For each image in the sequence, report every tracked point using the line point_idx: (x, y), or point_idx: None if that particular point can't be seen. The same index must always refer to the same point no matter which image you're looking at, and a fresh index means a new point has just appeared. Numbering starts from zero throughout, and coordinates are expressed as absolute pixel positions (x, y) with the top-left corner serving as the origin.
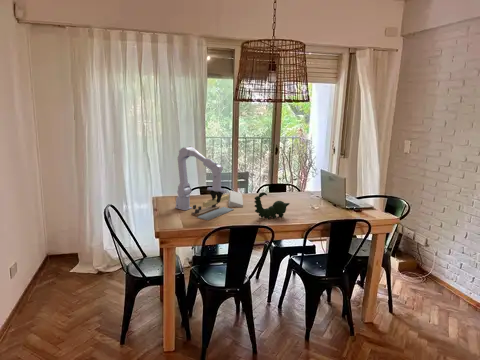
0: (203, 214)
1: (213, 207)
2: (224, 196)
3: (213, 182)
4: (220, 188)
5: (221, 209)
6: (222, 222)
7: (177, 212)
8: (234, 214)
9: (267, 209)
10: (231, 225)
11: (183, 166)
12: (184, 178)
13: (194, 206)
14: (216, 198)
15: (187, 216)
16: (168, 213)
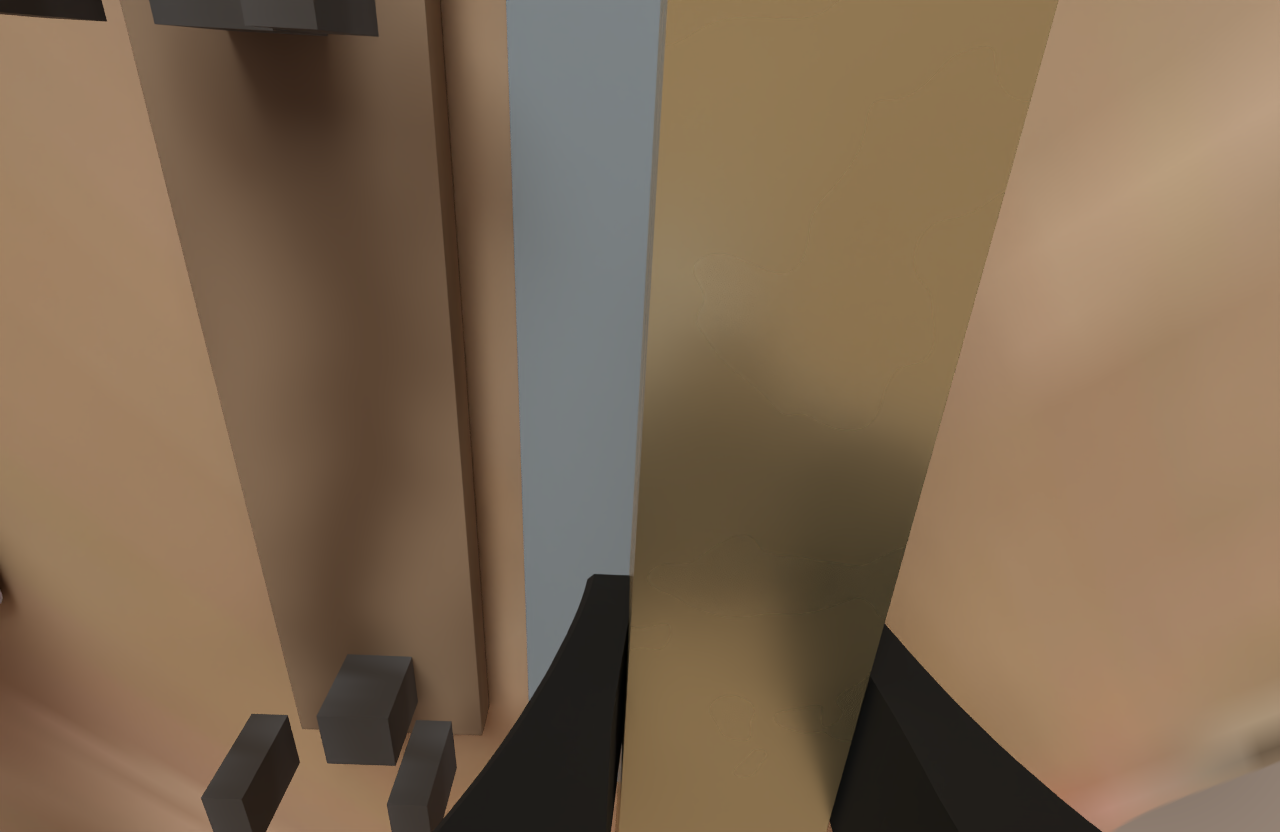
0: (528, 642)
1: (335, 86)
2: (978, 151)
3: None
4: None
5: (636, 38)
6: (1048, 733)
7: (39, 730)
8: (1164, 181)
9: None
10: (1243, 763)
11: None
12: None
13: (264, 815)
14: (737, 763)
15: (358, 786)
16: (6, 821)
